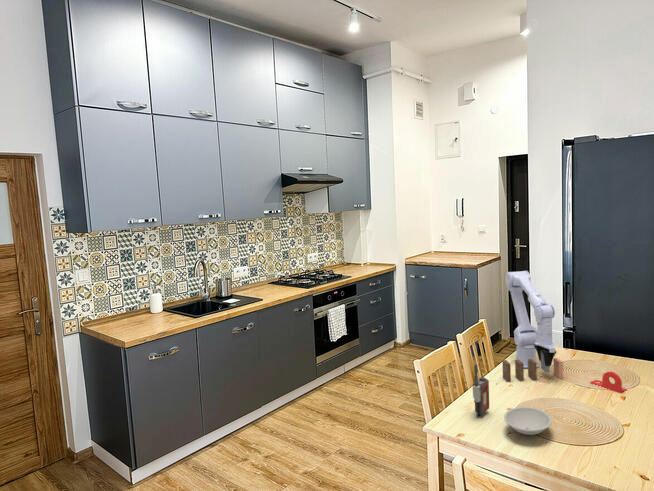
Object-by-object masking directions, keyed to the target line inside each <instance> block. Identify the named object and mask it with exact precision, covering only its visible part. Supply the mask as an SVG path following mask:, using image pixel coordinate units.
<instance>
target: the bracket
mask: <svg viewBox="0 0 654 491" xmlns="http://www.w3.org/2000/svg"><path fill="white" fill-rule="evenodd" d="M610 378H611V379H613V381H614V383H612V382H611V381H610ZM596 382H600V383H596ZM590 383H591V385H593V384H595V385H594V386H596V385H598V387H599V386H601V387H600V388H602V387H604V388H603V389H605V388H606V390H608V389H609V391H612V392H615V393H617V394H622V393H624V392H626V391H627V390H628V389H627V388H624V387H623V382H622V378H621V376H620V375H618V374H617V373H616V372H615V371H607V372H605V373H603V375H602V380H597V379H594V380H591V381H590V382H589V384H590Z"/></svg>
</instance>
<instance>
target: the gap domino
mask: <svg viewBox="0 0 654 491" xmlns="http://www.w3.org/2000/svg"><path fill="white" fill-rule="evenodd" d="M540 369H541V370H543V371H544V372H545V373H550V372H551V366H545V362H544V356H543V353H542V351H541V362H540Z"/></svg>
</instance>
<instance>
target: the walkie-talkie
mask: <svg viewBox="0 0 654 491" xmlns="http://www.w3.org/2000/svg"><path fill="white" fill-rule="evenodd" d="M473 366H474V367H473V369H474V370H473V372H474V383H472V398H473V399H474V400H473V402H474V413H477V414H476V415H477V417H479V418H481V415H483V414H485V413H486V412H487V411H488V410H489V409H490V386H489V385H490V381H489V379H488V378H486V377H484V376H481V377H479V376H478V365H477V364H474V365H473ZM478 377H479V378H478Z"/></svg>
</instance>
